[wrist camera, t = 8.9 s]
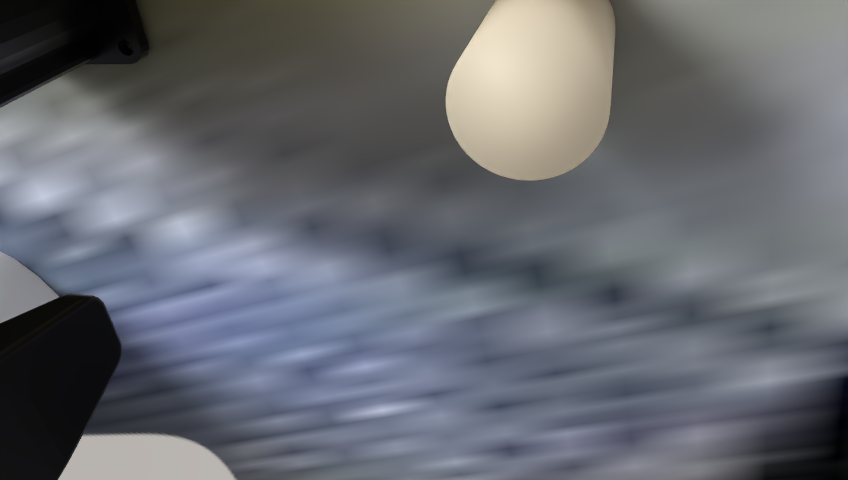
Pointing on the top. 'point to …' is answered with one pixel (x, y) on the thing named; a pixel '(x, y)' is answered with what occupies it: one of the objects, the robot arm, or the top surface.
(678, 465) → the top surface
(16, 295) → the white rectangular block
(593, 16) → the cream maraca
